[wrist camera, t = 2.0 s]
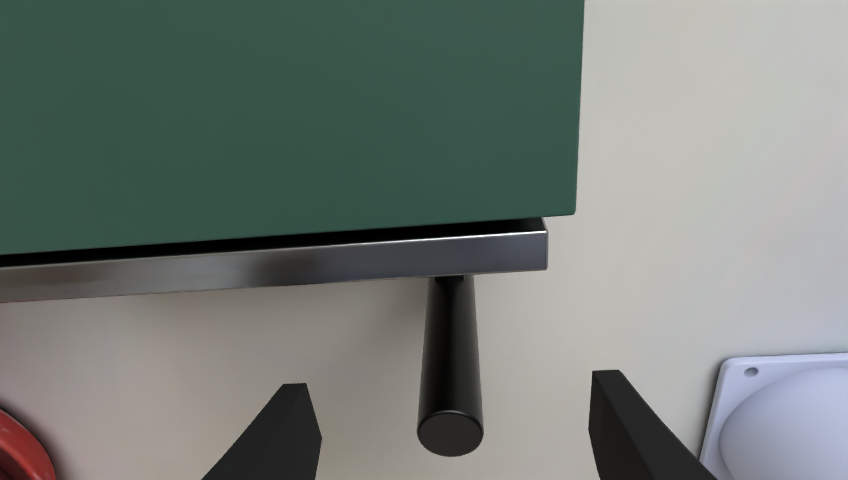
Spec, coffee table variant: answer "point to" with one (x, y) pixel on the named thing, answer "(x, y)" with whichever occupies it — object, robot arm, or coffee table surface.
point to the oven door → (317, 264)
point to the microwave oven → (281, 117)
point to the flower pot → (21, 453)
